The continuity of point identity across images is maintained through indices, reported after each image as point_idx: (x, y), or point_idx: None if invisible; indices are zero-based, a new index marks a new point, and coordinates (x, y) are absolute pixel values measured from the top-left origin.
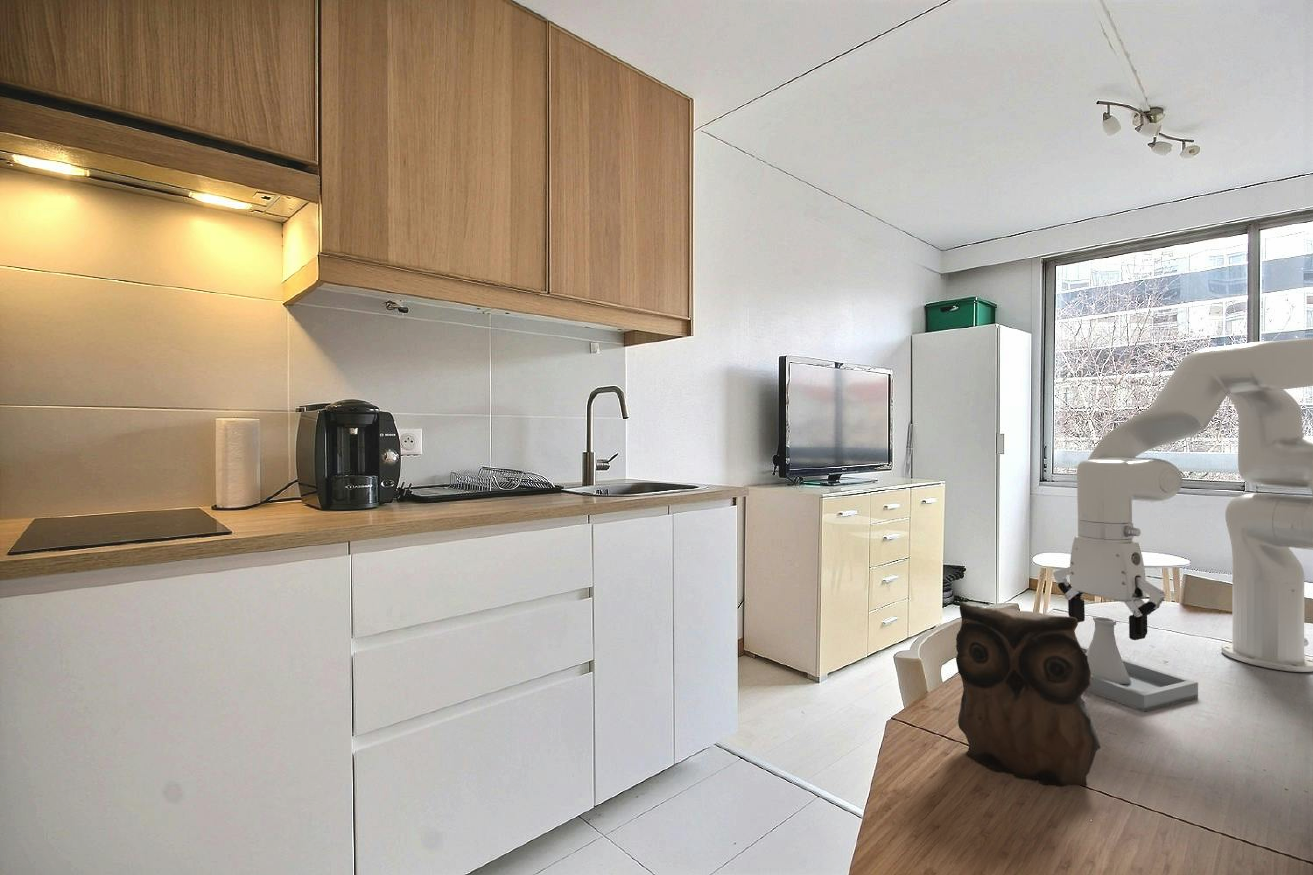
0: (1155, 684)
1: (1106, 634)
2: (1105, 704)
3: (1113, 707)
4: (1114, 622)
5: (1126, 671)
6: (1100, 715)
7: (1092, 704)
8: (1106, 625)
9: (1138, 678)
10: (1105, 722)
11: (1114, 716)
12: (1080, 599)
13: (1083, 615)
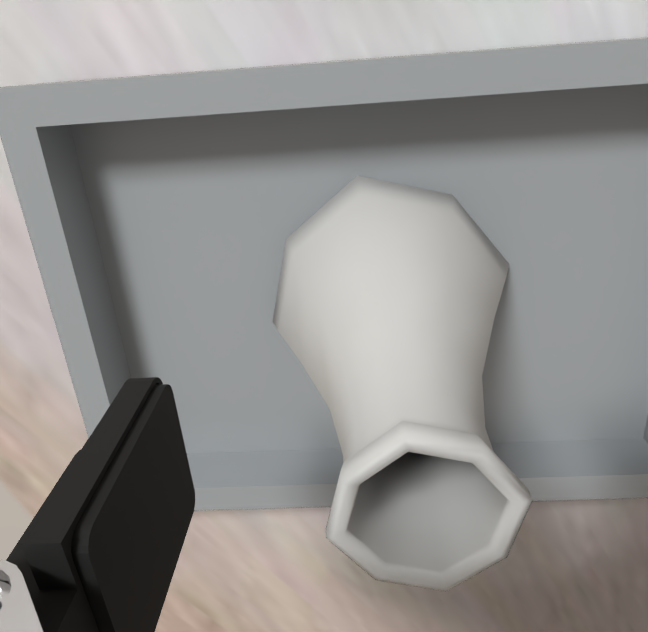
0: (564, 122)
1: (456, 472)
2: (545, 506)
3: (574, 505)
4: (522, 508)
5: (501, 291)
6: (586, 591)
7: (523, 543)
8: (472, 530)
9: (470, 121)
10: (622, 618)
11: (615, 562)
12: (76, 595)
13: (154, 424)
